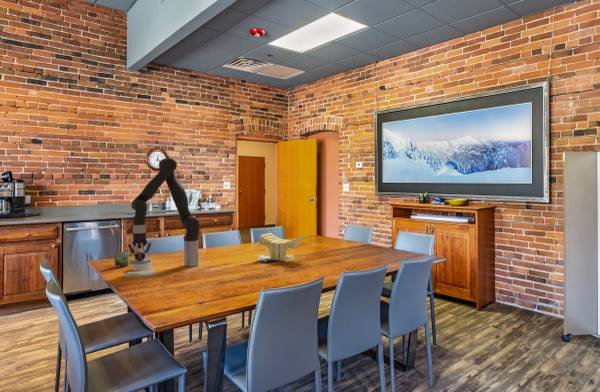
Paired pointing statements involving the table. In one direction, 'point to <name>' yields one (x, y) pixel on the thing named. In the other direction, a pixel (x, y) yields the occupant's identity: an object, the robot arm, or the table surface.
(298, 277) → the table surface
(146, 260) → the lid
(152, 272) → the mat
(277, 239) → the slatted curved stool
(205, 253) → the table surface
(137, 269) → the bowl
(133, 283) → the table surface
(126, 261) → the food container
